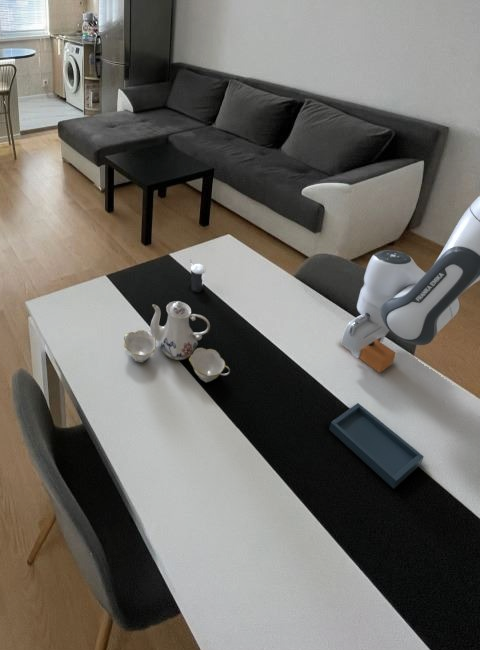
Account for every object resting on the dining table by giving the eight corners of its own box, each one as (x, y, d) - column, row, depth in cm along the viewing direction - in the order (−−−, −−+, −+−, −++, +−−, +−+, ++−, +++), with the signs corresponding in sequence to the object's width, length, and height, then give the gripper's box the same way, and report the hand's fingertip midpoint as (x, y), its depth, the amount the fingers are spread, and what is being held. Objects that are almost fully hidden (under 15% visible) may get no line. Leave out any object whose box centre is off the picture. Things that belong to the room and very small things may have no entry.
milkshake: (193, 281, 143) (194, 256, 140) (206, 289, 140) (208, 264, 136) (184, 287, 141) (186, 262, 137) (198, 295, 137) (200, 270, 133)
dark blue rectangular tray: (421, 464, 88) (424, 456, 87) (393, 489, 84) (396, 481, 83) (355, 410, 99) (357, 402, 98) (328, 429, 96) (330, 422, 95)
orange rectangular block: (392, 364, 110) (396, 350, 109) (379, 373, 108) (383, 359, 106) (354, 337, 119) (357, 324, 117) (341, 345, 116) (344, 332, 115)
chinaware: (118, 372, 114) (115, 330, 106) (130, 322, 128) (128, 281, 120) (228, 397, 106) (234, 353, 98) (228, 341, 119) (233, 298, 112)
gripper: (365, 331, 101) (354, 373, 106) (414, 300, 109) (401, 341, 114) (340, 314, 106) (330, 355, 111) (388, 286, 114) (377, 326, 119)
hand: (366, 348), depth 113 cm, fingers open, 8 cm apart
